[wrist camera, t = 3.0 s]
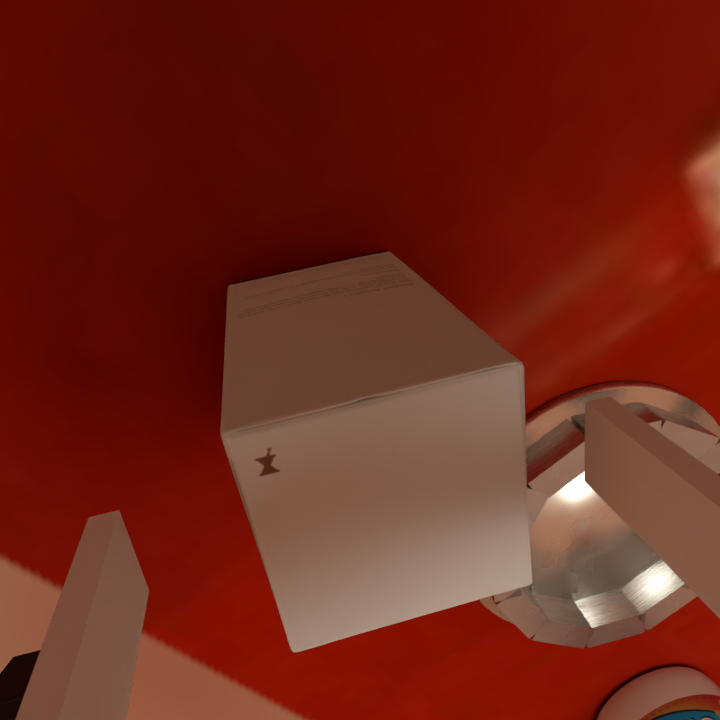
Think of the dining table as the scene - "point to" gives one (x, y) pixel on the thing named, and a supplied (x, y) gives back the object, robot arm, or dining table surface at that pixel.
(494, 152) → the dining table surface
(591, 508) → the silver round shallow dish
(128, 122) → the dining table surface
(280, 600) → the supplement box
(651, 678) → the fruit juice
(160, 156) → the dining table surface
